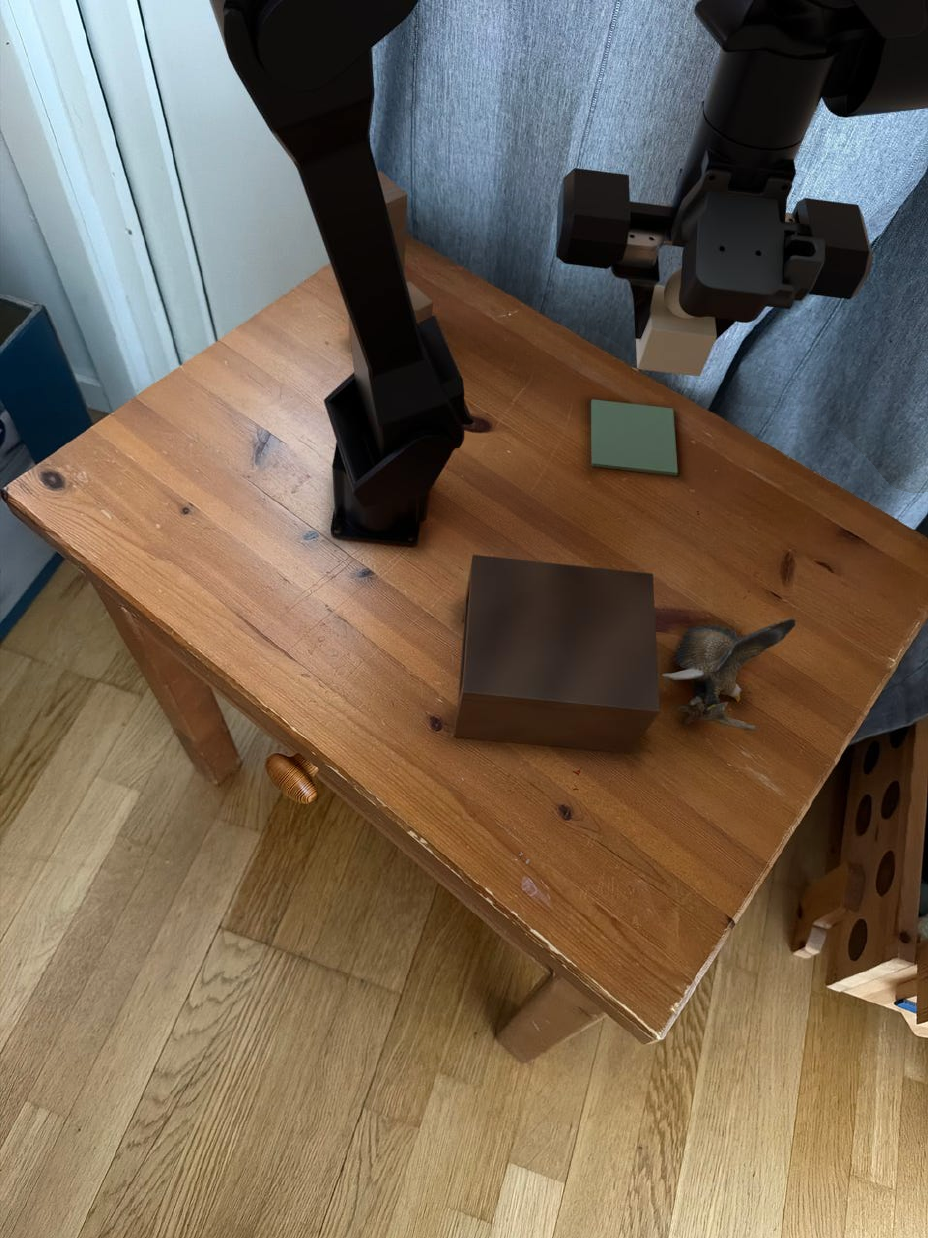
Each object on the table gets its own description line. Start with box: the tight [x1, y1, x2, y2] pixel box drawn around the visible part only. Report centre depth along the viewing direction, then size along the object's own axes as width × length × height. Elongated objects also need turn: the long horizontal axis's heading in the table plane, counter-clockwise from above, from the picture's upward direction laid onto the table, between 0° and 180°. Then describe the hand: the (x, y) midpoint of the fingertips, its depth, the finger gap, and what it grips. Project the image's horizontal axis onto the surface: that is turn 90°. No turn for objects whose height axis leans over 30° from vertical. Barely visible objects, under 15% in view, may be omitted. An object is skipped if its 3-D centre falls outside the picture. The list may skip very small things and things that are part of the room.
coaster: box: [590, 399, 679, 477], centre depth 74 cm, size 7×7×1 cm
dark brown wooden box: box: [452, 554, 661, 754], centre depth 59 cm, size 12×10×7 cm
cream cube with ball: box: [635, 267, 717, 377], centre depth 60 cm, size 4×4×7 cm
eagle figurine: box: [661, 617, 797, 731], centre depth 61 cm, size 8×7×9 cm
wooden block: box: [348, 170, 434, 348], centre depth 71 cm, size 7×3×15 cm, turn 130°
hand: (670, 338), depth 62 cm, fingers closed on cream cube with ball, 4 cm apart
